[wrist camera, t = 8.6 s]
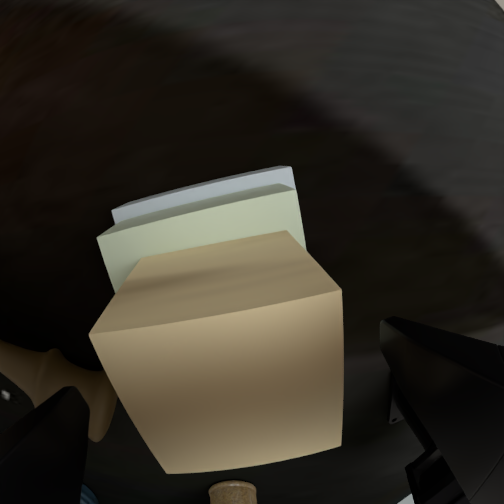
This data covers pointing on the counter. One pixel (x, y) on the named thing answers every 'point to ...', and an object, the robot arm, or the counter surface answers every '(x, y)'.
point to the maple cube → (228, 354)
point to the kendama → (60, 382)
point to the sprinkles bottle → (233, 493)
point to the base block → (205, 191)
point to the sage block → (200, 226)
